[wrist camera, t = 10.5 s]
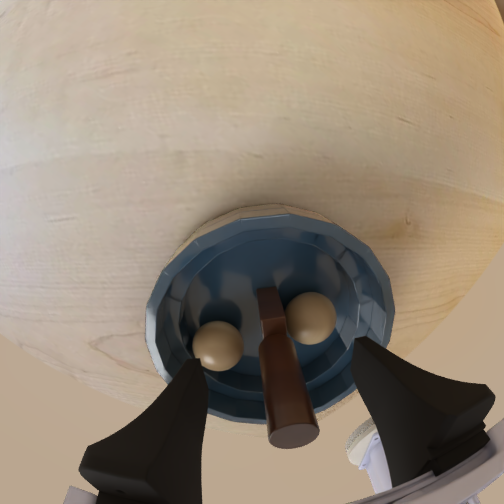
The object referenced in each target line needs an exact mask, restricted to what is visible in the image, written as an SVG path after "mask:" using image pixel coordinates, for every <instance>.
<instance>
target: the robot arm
mask: <svg viewBox="0 0 504 504" xmlns="http://www.w3.org/2000/svg"><path fill="white" fill-rule="evenodd" d="M350 371H351V374H352V377H353V379H354V382H355V385H356V387H357V389H358V391H359V393H360V395H361V397H362V399H363V401H364V403H365V405H366V407H367V409H368V411H369V412H370V415H371V417H372V419H373V421H374V423H375V425H376V428H377V431H378V432H376V433H374V434H373V436H372V438H371V440H370V443H369V445H368V447H367V450H366V452H365V454H364V456H363V459H362V461H361V463H360V465H359V467H358V468H359V470H362V469H365V468H366V469H367V472H368V475H369V478H370V480H371V483H372V486H373V489H374V491H375V494H376V495H373V496H370V497H367V498H364V499H360V500H357V501H354V502H350V503H347V504H467V503H468V504H480V501H479V499H478V497H477V494H478V493H480V492H481V491H482V490H483V489H485V488H486V487H487V486H489V485H490V484H491V483H492V482H494V481H495V480H496V479H497V478H498V477H499V476H501V475H502V474H503V473H504V419H502V420H501V421H500V422H498V423H497V424H496V425H494V426H493V427H492V428H491V429H490V430H489V431H487V433H486V432H485V431H484V428H485V426H486V425H485V423H484V422H483V420H484V418H485V417H486V415H487V414H488V412H489V411H490V409H491V408H492V406H493V404H494V401H495V395H494V394H493V392H492V391H491V390H490V389H489V388H488V387H487V385H486V384H476V383H467V382H460V381H455V380H452V379H448V378H445V377H441V376H438V375H435V374H433V373H430V372H428V371H425V370H423V369H421V368H418V367H416V366H414V365H412V364H410V363H409V362H407V361H405V360H403V359H401V358H400V357H398V356H396V355H395V354H393V353H392V352H390V351H389V350H387V349H385V348H384V347H382V346H381V345H379V344H378V343H376V342H375V341H373V340H372V339H370V338H369V337H367V336H363V337H358V338H354V346H353V354H352V361H351V368H350ZM207 411H208V385H207V382H206V378H205V375H204V371H203V368H202V364H201V360H200V358H193V359H187V360H186V361H185V362H184V363H183V365H182V366H181V368H180V369H179V371H178V372H177V373H176V375H175V376H174V378H173V379H172V380H171V382H170V383H169V384H168V385H167V387H166V388H165V389H164V391H163V392H162V393H161V394H160V395H159V396H158V397H157V399H156V400H155V401H154V402H153V403H152V404H151V405H150V406H149V407H148V408H147V409H146V410H145V411H144V412H143V413H142V414H141V415H139V416H138V417H137V418H136V419H134V420H133V421H132V422H130V423H129V424H128V425H127V426H125V427H124V428H122V429H121V430H119V431H117V432H116V433H114V434H112V435H111V436H109V437H107V438H105V439H103V440H101V441H99V442H96V443H94V444H92V445H90V446H88V447H87V449H86V451H85V453H84V456H83V458H82V461H81V464H80V466H79V472H80V474H81V476H83V477H84V479H86V480H87V481H88V482H89V483H90V484H92V485H93V486H94V487H95V488H96V489H97V490H99V494H98V496H96V495H95V494H92V493H90V492H87V491H84V490H82V489H79V488H76V487H73V486H69V489H68V492H67V495H66V497H65V501H64V503H63V504H202V487H201V455H202V443H203V436H204V430H205V424H206V417H207Z"/></svg>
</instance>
